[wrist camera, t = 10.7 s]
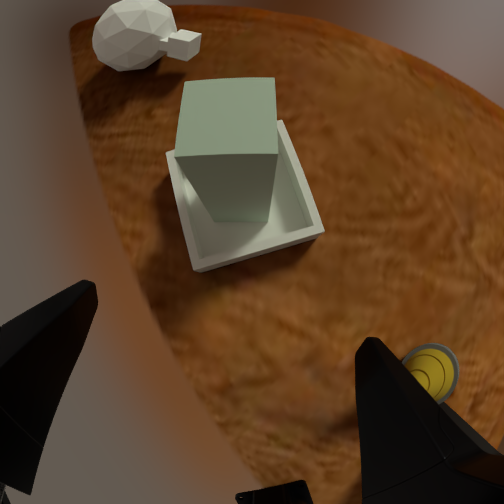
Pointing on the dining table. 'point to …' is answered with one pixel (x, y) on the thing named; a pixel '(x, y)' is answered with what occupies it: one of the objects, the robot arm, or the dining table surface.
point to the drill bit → (434, 369)
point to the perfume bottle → (141, 35)
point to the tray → (249, 233)
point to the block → (230, 145)
